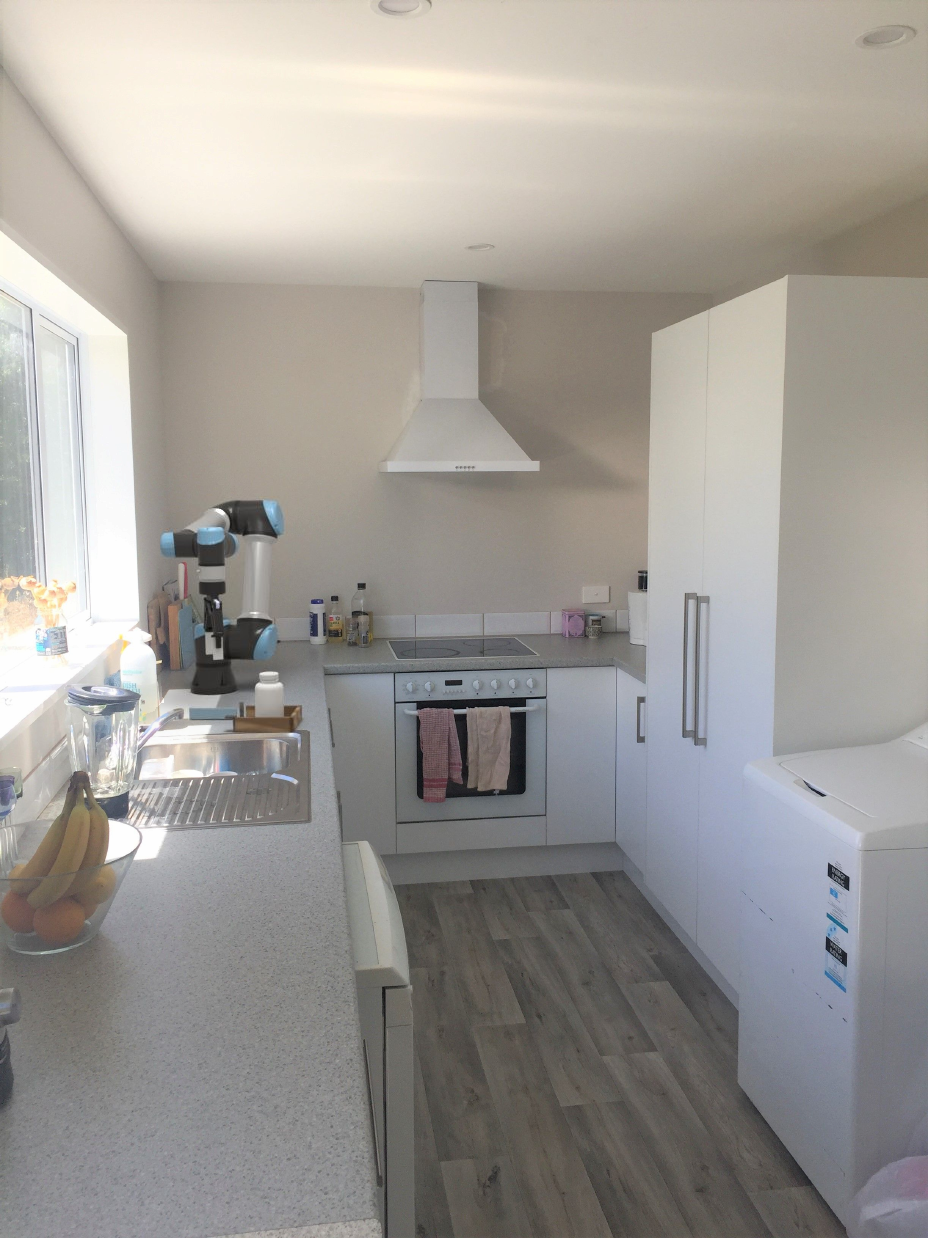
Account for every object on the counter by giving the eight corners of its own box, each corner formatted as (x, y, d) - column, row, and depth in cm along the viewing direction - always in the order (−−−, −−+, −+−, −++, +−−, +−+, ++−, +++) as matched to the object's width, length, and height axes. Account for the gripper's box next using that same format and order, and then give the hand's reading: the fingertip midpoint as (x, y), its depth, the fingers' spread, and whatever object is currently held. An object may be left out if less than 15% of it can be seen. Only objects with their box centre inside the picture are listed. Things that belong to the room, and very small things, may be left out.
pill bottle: (274, 729, 264) (273, 676, 262) (249, 727, 267) (248, 674, 265) (289, 723, 272) (288, 671, 270) (265, 721, 275) (264, 669, 273)
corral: (237, 718, 277) (237, 702, 277) (302, 718, 278) (301, 701, 277) (225, 732, 261) (224, 714, 261) (293, 732, 262) (292, 714, 261)
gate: (237, 718, 277) (236, 707, 277) (236, 718, 276) (236, 708, 276) (190, 718, 277) (190, 707, 276) (189, 718, 276) (189, 708, 276)
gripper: (191, 578, 285) (194, 652, 288) (206, 584, 265) (209, 663, 268) (217, 577, 288) (219, 650, 291) (233, 583, 268) (236, 661, 271)
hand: (214, 656), depth 279 cm, fingers open, 10 cm apart
